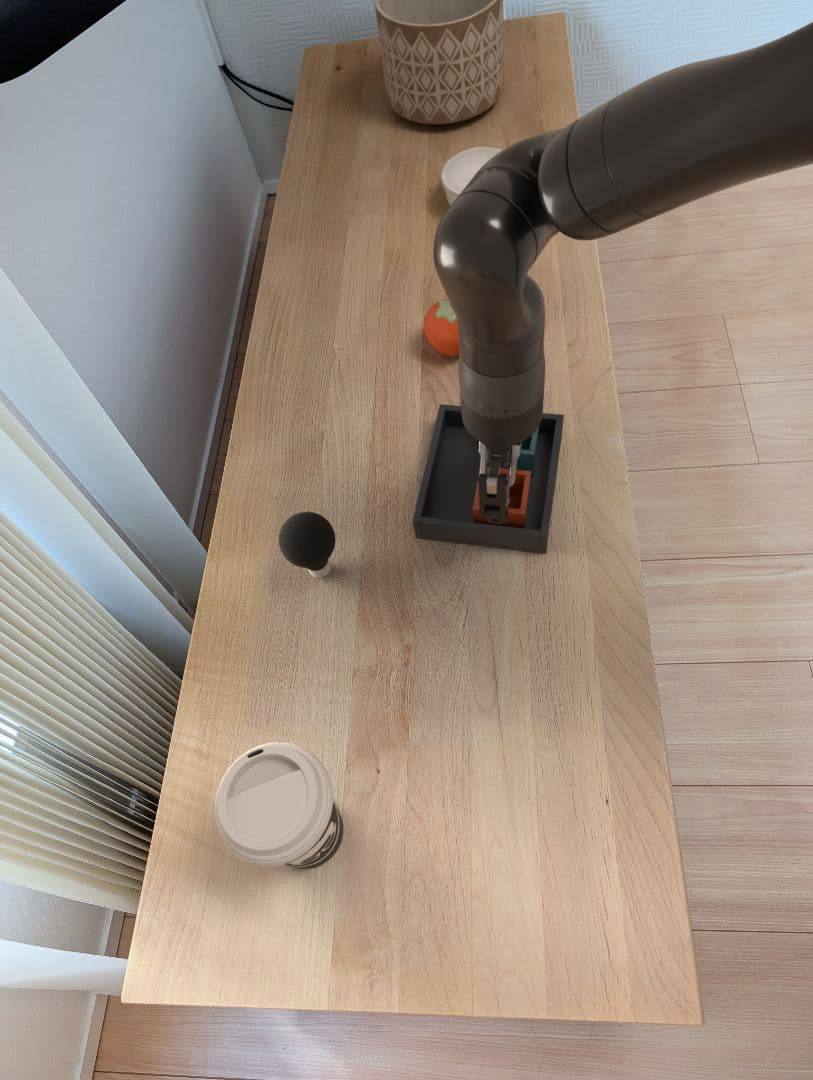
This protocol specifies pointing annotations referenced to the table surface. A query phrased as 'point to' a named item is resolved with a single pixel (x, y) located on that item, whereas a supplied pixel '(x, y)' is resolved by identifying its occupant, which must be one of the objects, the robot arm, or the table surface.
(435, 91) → the planter
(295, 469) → the table surface
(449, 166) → the ramekin
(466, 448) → the tray
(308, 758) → the coffee cup
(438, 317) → the tomato
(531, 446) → the box teal
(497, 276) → the robot arm
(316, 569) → the light bulb
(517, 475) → the box brown
